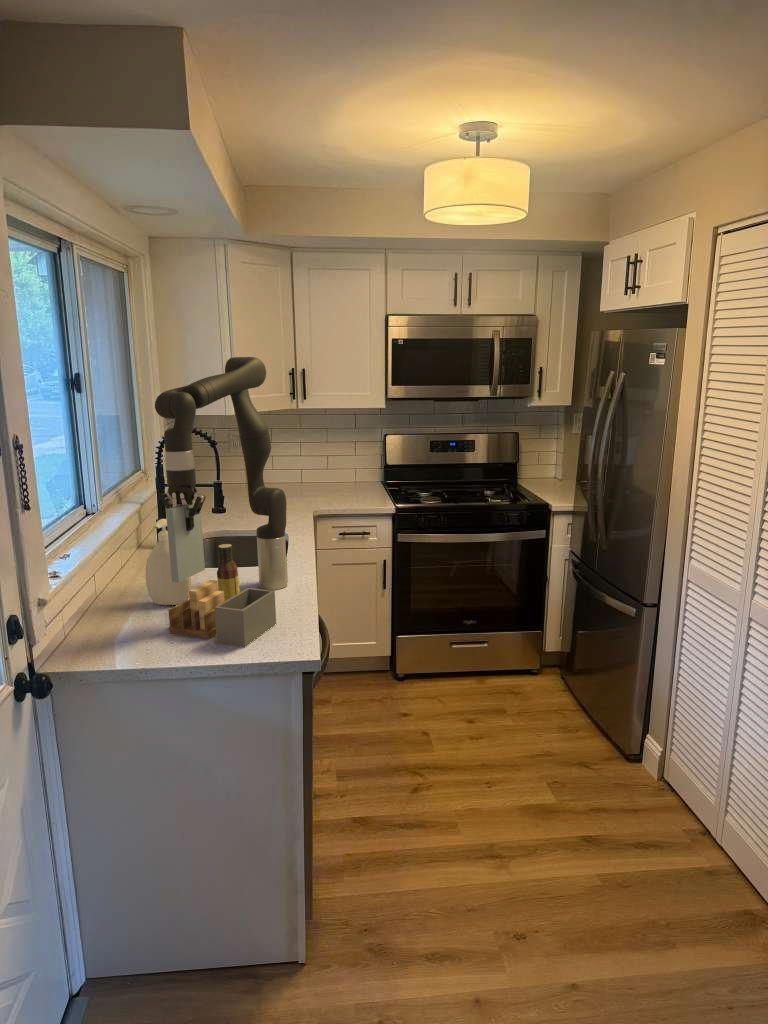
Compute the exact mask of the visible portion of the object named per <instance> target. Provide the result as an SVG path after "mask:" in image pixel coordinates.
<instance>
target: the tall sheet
mask: <svg viewBox="0 0 768 1024" xmlns="http://www.w3.org/2000/svg"><path fill="white" fill-rule="evenodd" d="M193 501H194V500H193ZM194 503H195V501H194ZM188 505H189V504H188ZM165 514H166V515H165V517H166V518H165V519H167V526H166V527H167V528H166V530H167V531H168V541H169V552H170V564H171V575H172V582H180V581H183V580H185V579H187V578H189V577H191V578H192V577H193V576H195V575H197V574H198V573H201V572H203V571H204V570H206V567H205V566H206V563H205V551H204V538H203V526H202V525H203V523H202V511H200V513H199V514H197V515H194V528H193V530H190V531H187V530H186V519H185V518H186V516H185V510H184V509H183V506H182V504H181V505H178V506H175V507H172V508H168V509H166V508H165Z"/></svg>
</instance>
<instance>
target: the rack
mask: <svg viewBox="0 0 768 1024" xmlns="http://www.w3.org/2000/svg"><path fill="white" fill-rule="evenodd" d="M167 611H168V620H169V626H168V631H169V632H168V633H169V635H175V636H182V637H188V638H195V639H200V640H201V639H203V640H211V639H213V638H214V637H216V623H215V609H213V610H211V611H209V612H207V613H206V614H204V623H205V630H204V629H200V619H199V609H198V610H196V611H194V612H193V613H192V621H193V625H192V621H191V608H190V598H188V599H187V600H186V601H184V602H182V603H180V604H179V605H177V606H172V607H171V608H170V609H168V610H167Z"/></svg>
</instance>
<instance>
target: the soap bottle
mask: <svg viewBox="0 0 768 1024" xmlns="http://www.w3.org/2000/svg"><path fill="white" fill-rule="evenodd" d="M166 527H167V518H161V519H158V520H157V521H156V522H155V524H154V526H153V528H154V529H160V528H161V530H160V531H159V533H157V538H158V539H157V540H158V541H157V544H156V545H155V546H154V547H153V549H152V550H151V551H150V553H149V556H148V558H147V559H146V565H145V583H146V584H145V585H146V588H147V592H148V595H149V597H150V598H151V600H152V602H153V603H155V604H156V605H160V606H167V605H172V607H174V606H173V605H179V604H180V603H182V602H184V601H186V600H188V599H189V598H190V595H189V591H190V590H192V580H191V579H192V576H191V577H189V578H187V579H185V580H183V581H180V582H172V575H171V564H170V552H169V541H168V530H167V528H166Z"/></svg>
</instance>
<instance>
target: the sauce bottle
mask: <svg viewBox="0 0 768 1024" xmlns="http://www.w3.org/2000/svg"><path fill="white" fill-rule="evenodd" d="M217 551H218V553H219V562H218V567H217V571H216V579H217V580H216V581H217V587H218V591H224V599H225V601H226V600H228V599H230V598H231V597H233V596H235V595H237V594H238V593H240V592H241V590H240V580H239V579H240V578H239V573H238V572H239V571H238V566H237V564H236V562H235V561H234V560H233V559H234V558H233V552H232V551H233V545H232V544H230V543H223V544H218V546H217Z"/></svg>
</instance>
